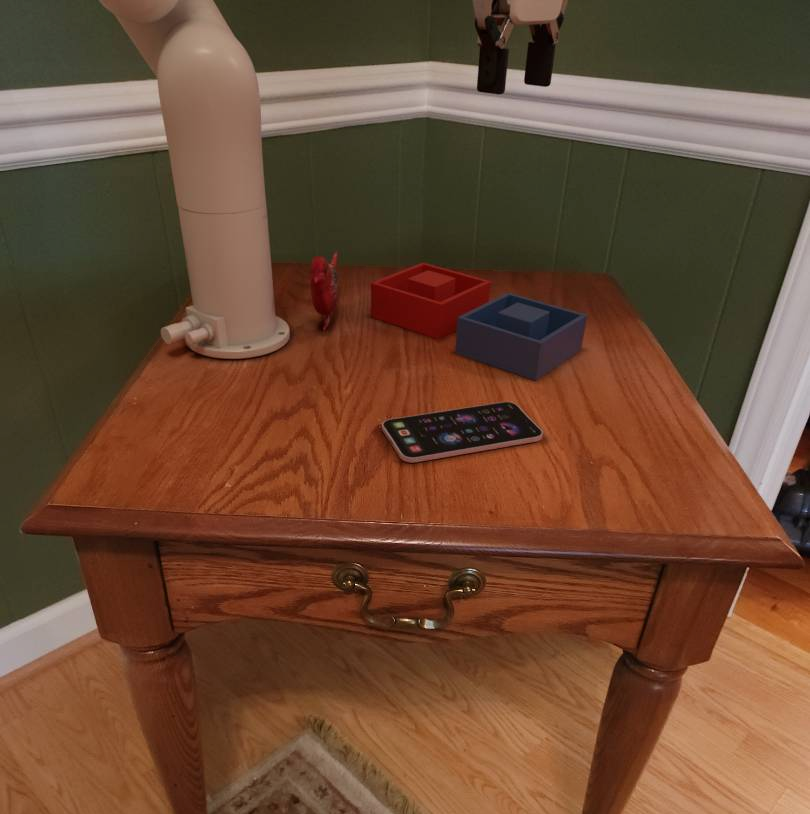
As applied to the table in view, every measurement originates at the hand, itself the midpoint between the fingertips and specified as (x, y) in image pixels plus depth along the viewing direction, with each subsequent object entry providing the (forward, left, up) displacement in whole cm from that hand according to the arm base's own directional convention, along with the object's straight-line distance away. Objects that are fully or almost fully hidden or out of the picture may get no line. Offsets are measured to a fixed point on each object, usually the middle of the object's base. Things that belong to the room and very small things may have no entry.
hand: (514, 88), depth 80 cm
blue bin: (-6, -8, -26) cm, 28 cm away
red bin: (-4, +7, -26) cm, 28 cm away
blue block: (-6, -8, -26) cm, 28 cm away
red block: (-4, +7, -26) cm, 27 cm away
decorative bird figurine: (-14, +16, -26) cm, 34 cm away
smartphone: (-27, -14, -26) cm, 40 cm away
